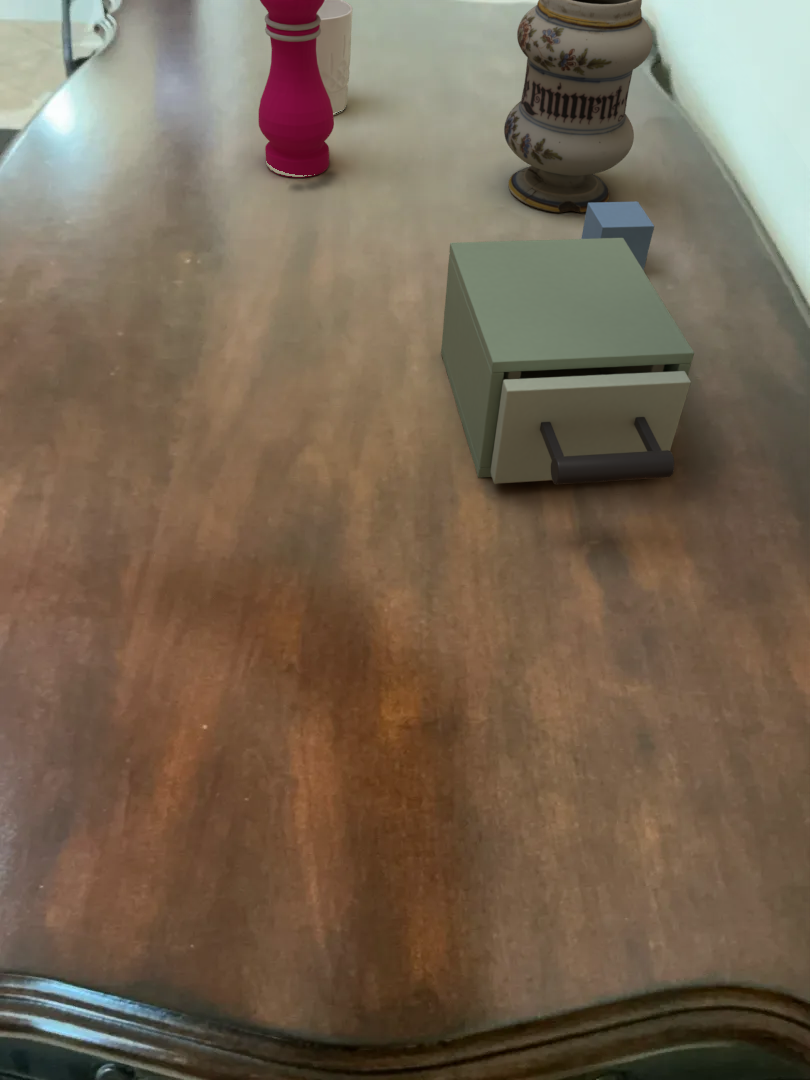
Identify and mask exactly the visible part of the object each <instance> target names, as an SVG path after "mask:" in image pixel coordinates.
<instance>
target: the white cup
mask: <svg viewBox="0 0 810 1080" xmlns="http://www.w3.org/2000/svg"><path fill="white" fill-rule="evenodd" d="M353 9H354V8H353V6H352V5H351V4H350V3H349V2H348V1H345V0H325V1H324V3H323V5H322V6H321V7H320V9H319V10H318V12H317V15H318V16H319V17H320V19H321V22H320V24H319V25H320V29H321V33H320V35H319V36H318V37H316V55H317V64H318V68H319V72H320V76H321V79H322V81H323V84H324V87H325V89H326V91H327V94H328V96H329V98H330V102H331V106H332V110H333V113H335V112H338V111H340V110H343V109H344V108H345V106H346V104H347V105H348V95H349V93H348V92H349V81H350V67H351V52H352V31H353V29H352V28H353ZM346 107H347V106H346ZM345 109H346V108H345ZM341 113H343V111H341V112H339V113H337V114H334V115H333V116H336V115H338V114H341Z"/></svg>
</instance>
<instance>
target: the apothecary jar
mask: <svg viewBox="0 0 810 1080" xmlns="http://www.w3.org/2000/svg"><path fill="white" fill-rule="evenodd" d="M642 2H643V0H538V1H537V4H536V5H534V6H533V7H532V8H530V9H529V10H528V11H527V12H526V13H525V14H524V16H522V18H521V20H520V22H519V24H518V26H517V33H516V37H517V43H518V46H519V48H520V50H521V51H522V53H523V54H524V56H525V57H526V59H527V60H526V67H525V69H526V70H525V76H524V83H523V88H522V89H523V90H522V94H521V100H520V101H519V102H518V103H517V104H515V105H514V107H512V109H511V110H510V111H509V113H508V114H507V117H506V119H505V122H504V127H503V133H504V134H503V135H504V139H505V141H506V144H507V146H508V147H509V149H510V150H511V151H512V152H513V153H514V154H515V156H516V157H517V158H519V159H520V160H521V161H523V162H524V163H526V164H527V165H529V166H526V167H524V168H522V169H519V170H516V172H514V173H513V174H512V175H510V178H509V180H508V189H509V191H510V193H511V194H512V196H514V198H516V199H517V200H518V201H520V202H521V203H523V204H524V205H527V206H528V207H531V208H535V209H538V210H541V211H544V212H550V213H556V214H559V213H560V214H561V213H565V212H575V213H578V214H582V213H586V211H587V205H588V203H597V202H609V198H610V191H609V188H608V186H607V184H606V183H605V182H604V181H603V180H602V179H601V178H600V177H598V176H597V175H596V174H600V173H602V172H605V171H608V170H610V169H611V168H612V169H613V168H614V167H615V166H617V165H618V164H620V163H621V161H623V160H624V159H625V158H626V157H627V155H628V154H629V153H630V151H631V150H632V147H633V144H634V141H635V140H634V139H635V133H634V127H633V124H632V122H631V120H630V118H629V117H628V115H627V114H626V109H627V102H628V97H629V91H630V85H631V81H632V77H633V71H634V70H636V69H637V68H638V67H640V66H641V65H642V64H643V63H644V62H645V61H646V60H647V58H648V57H649V55H650V53H651V51H652V48H653V43H654V42H653V39H654V38H653V33H652V30H651V28H650V27H651V26H650V25H649V23H648V22H647V21H646V19H644V17H643V16H642V15H643V13H642V4H643V3H642Z"/></svg>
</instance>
